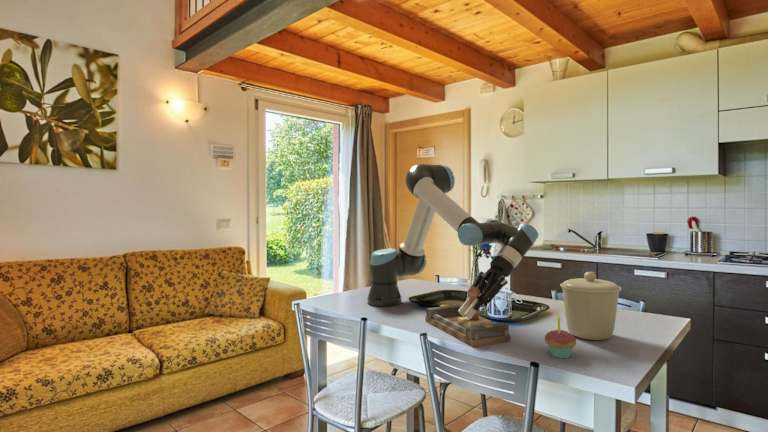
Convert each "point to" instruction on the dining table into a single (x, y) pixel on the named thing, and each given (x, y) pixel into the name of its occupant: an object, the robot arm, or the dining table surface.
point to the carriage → (476, 319)
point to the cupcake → (560, 342)
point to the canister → (590, 306)
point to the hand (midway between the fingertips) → (464, 315)
